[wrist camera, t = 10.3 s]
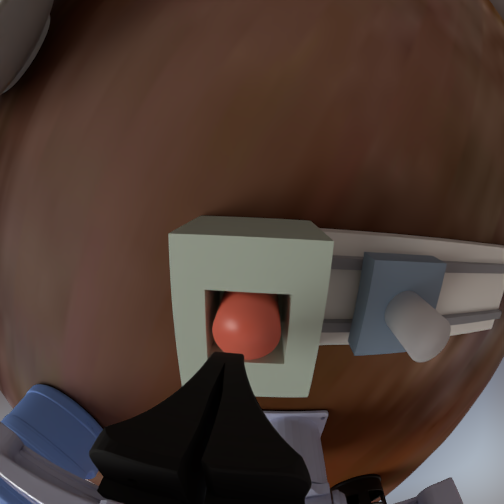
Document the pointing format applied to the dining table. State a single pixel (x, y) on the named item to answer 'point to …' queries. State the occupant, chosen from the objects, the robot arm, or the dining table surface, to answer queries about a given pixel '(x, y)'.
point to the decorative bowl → (21, 36)
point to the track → (308, 288)
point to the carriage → (399, 306)
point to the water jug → (52, 434)
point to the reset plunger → (247, 324)
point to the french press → (361, 489)
